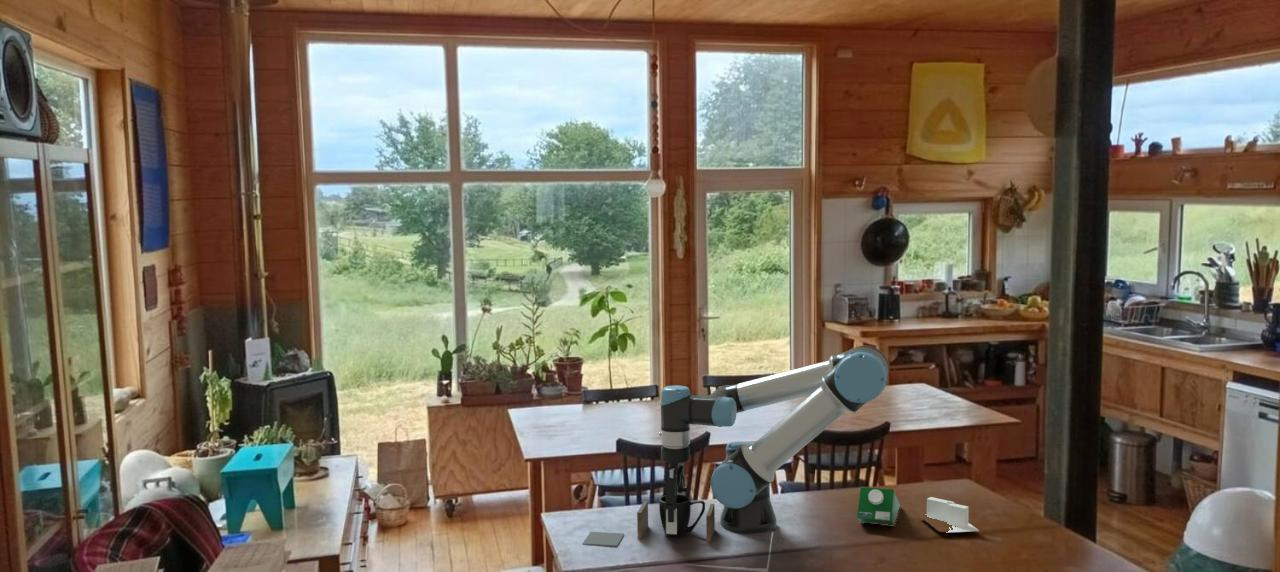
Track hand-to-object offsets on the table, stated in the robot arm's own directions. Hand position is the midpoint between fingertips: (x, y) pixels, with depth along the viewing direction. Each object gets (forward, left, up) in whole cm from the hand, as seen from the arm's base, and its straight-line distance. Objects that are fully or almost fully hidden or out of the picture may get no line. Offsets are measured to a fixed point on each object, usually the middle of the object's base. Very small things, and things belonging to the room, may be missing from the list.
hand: (675, 524), depth 240 cm
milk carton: (-56, -37, -9) cm, 68 cm away
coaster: (+18, +8, -3) cm, 19 cm away
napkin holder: (-71, -21, -3) cm, 74 cm away
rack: (0, 0, -3) cm, 3 cm away
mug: (-2, 0, -3) cm, 3 cm away
